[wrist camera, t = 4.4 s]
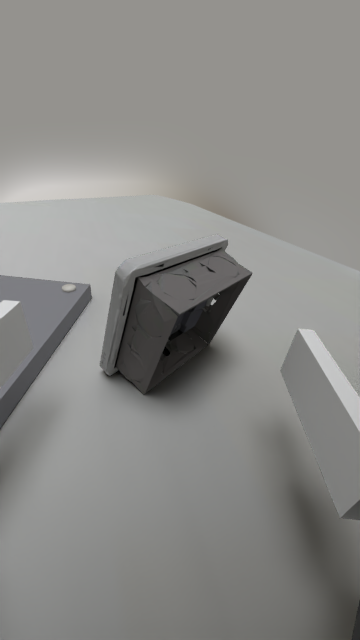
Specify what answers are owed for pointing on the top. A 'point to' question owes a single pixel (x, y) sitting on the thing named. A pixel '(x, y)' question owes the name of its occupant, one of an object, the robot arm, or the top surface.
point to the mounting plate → (39, 327)
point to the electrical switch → (168, 308)
